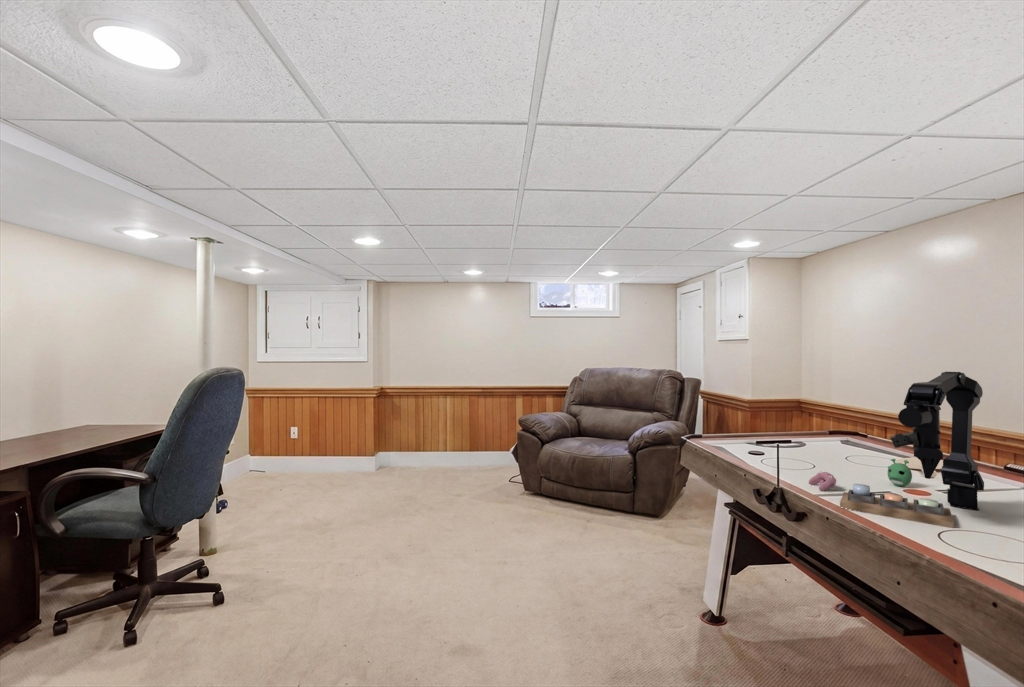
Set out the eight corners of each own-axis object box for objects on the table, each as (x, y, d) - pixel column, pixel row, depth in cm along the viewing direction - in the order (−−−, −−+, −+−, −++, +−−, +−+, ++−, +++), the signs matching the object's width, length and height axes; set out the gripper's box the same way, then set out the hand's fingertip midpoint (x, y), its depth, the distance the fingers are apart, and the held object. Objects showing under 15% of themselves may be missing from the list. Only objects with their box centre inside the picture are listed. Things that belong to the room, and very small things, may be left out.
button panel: (949, 515, 141) (949, 501, 142) (953, 527, 131) (953, 513, 131) (844, 498, 158) (844, 486, 158) (840, 508, 147) (839, 495, 148)
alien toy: (882, 485, 175) (882, 458, 176) (894, 482, 178) (893, 456, 179) (904, 489, 169) (904, 462, 169) (916, 487, 172) (915, 460, 172)
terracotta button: (903, 504, 145) (902, 495, 145) (902, 508, 141) (902, 498, 141) (884, 502, 148) (884, 492, 148) (884, 505, 144) (884, 495, 144)
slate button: (870, 494, 150) (870, 485, 150) (869, 498, 147) (869, 488, 147) (853, 492, 153) (853, 483, 153) (852, 495, 149) (852, 485, 150)
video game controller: (831, 496, 165) (841, 479, 165) (819, 490, 166) (828, 472, 166) (818, 488, 175) (827, 472, 175) (806, 482, 176) (815, 466, 176)
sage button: (938, 510, 140) (937, 500, 140) (938, 514, 136) (938, 503, 136) (918, 507, 142) (918, 497, 143) (918, 510, 139) (918, 500, 139)
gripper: (892, 420, 152) (893, 468, 152) (891, 426, 138) (892, 479, 138) (938, 423, 145) (939, 474, 145) (942, 430, 131) (943, 486, 130)
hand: (927, 478), depth 140 cm, fingers closed
